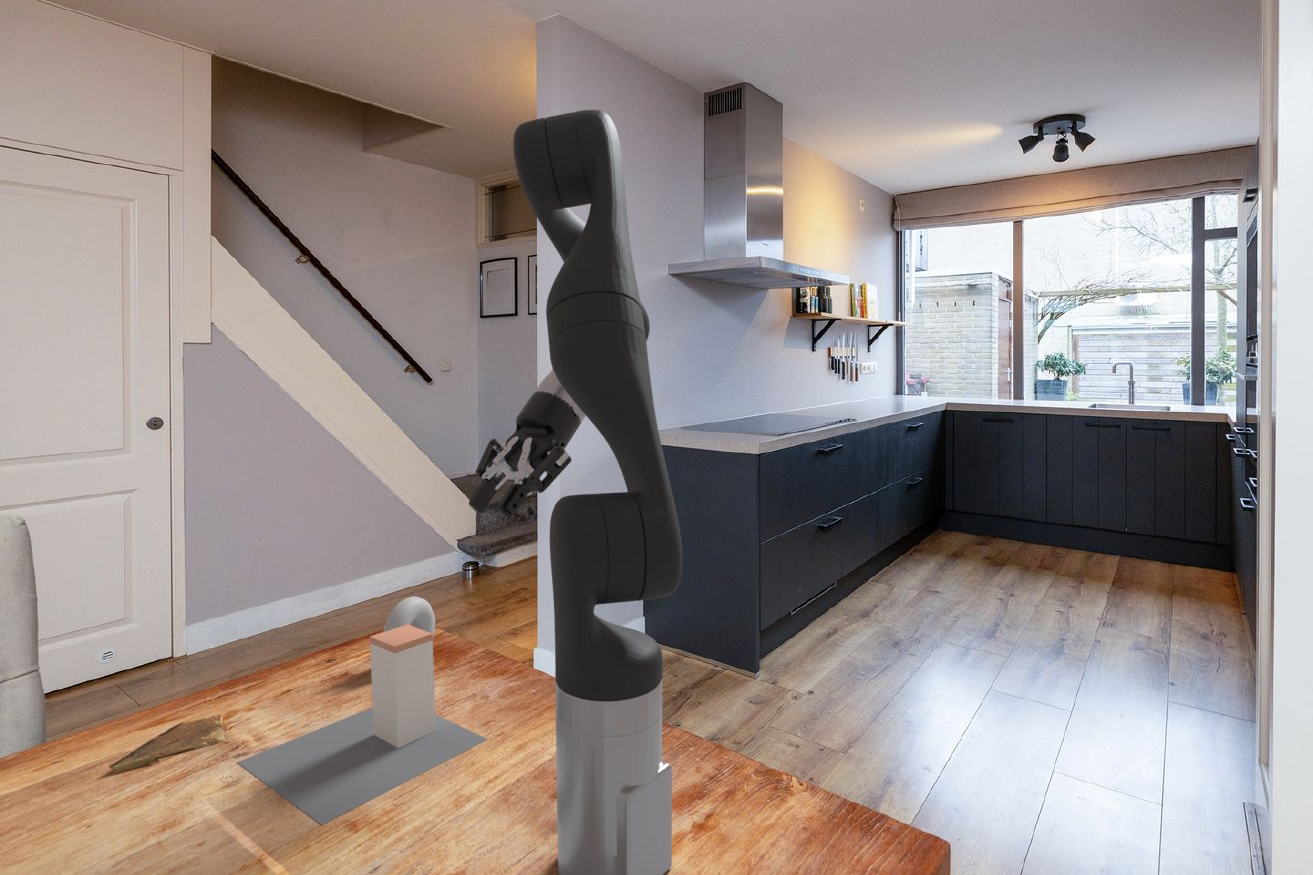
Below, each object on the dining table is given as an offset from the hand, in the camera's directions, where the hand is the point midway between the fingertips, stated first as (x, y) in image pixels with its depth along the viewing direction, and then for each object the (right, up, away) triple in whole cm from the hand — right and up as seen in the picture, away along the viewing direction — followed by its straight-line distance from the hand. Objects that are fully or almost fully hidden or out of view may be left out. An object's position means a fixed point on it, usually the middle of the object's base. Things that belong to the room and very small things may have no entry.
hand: (488, 511), depth 89 cm
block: (-9, -26, -3) cm, 28 cm away
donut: (-16, -25, +18) cm, 34 cm away
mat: (-12, -27, -7) cm, 30 cm away
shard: (-34, -28, -5) cm, 44 cm away
